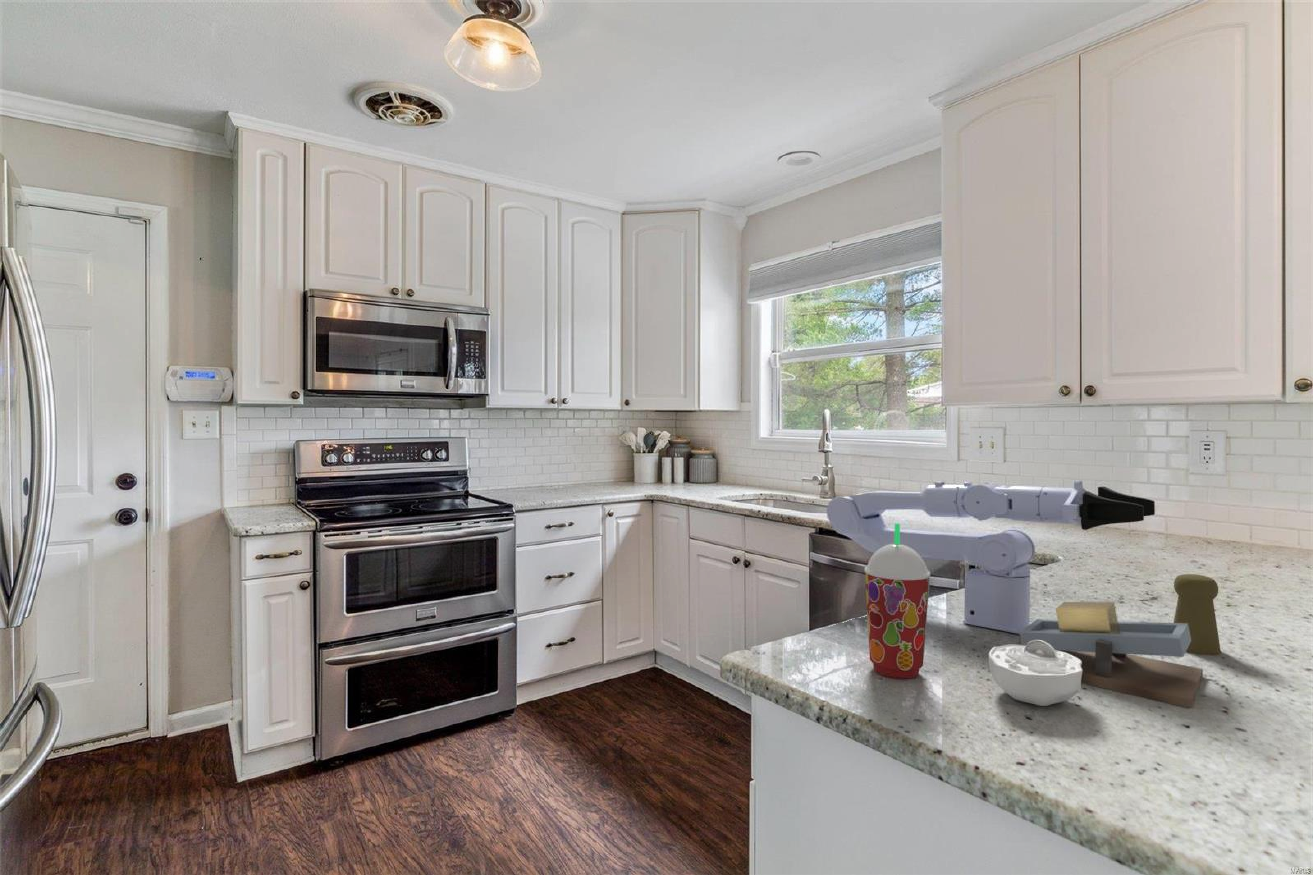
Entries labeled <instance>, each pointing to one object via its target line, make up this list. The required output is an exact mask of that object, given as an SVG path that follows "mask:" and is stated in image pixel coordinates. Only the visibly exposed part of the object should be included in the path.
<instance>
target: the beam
mask: <svg viewBox="0 0 1313 875" xmlns="http://www.w3.org/2000/svg"><path fill="white" fill-rule="evenodd" d="M1118 626H1119V631H1120V632H1119V633H1118V634H1107V633H1081V632H1060V630H1059V625H1058V619H1046V618H1045V619H1040V618H1039V619H1038V618H1037V619H1035V620H1034V622H1032V623H1031V624H1030V625H1028V626H1027V627H1026V628H1024V629H1023V630H1022V631H1020V632H1019V633H1020V634H1019V638H1020V645H1024V646H1026V645H1027V644H1028V643H1029V642H1030V641H1033V640H1042V641H1045V642H1047V643H1048V644H1050V645H1051V646H1052V647H1053V648H1054V650H1066V651H1084V652H1095V649H1096V640H1102V641H1107V642H1112V653H1120V654H1130V655H1138V656H1139V655H1141V656H1157V657H1159V656H1160V657H1175V658H1176V657H1177V658H1179V657H1180V658H1184V657H1185V654H1186V653H1187V652H1186V650H1187V648H1188V646H1189V644H1190V642H1191V636H1190V631H1189V626H1188V623H1174V622H1155V621H1154V622H1152V621H1151V622H1149V621H1148V622H1147V621H1118Z"/></svg>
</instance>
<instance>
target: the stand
mask: <svg viewBox="0 0 1313 875" xmlns="http://www.w3.org/2000/svg"><path fill="white" fill-rule="evenodd" d="M1057 651H1062V652H1065V653H1068V654H1070V655H1072V656H1075V657H1077V658H1078V659H1080V660H1081V661H1082V664H1081V668H1082V670H1083V671H1082V677H1081V684H1085V685H1090V686H1094V687H1098V688H1103V689H1107V690H1111V691H1116V692H1120V693H1124V694H1129V695H1132V696H1137V697H1142V698H1146V699H1150V700H1154V701H1159V702H1162V703H1166V704H1170V705H1171V704H1172V705H1176V706H1180V707H1185V708H1188V709H1192V707H1193V704H1194V700H1195V698H1196V695H1197V693H1198V690H1199V687H1200V686H1201V685H1200V684H1201V682H1202V680H1203V676H1204V674H1203V673H1204V669H1203V668H1200V667H1196V666H1190V665H1185V664H1181V663H1176V662H1175V663H1174V662H1169V661H1165V660H1159V659H1154V658H1149V657H1145V656H1144V657H1143V656H1139V655H1136V654H1120V653H1112V642H1107V641H1102V640H1096V649H1095V652H1084V651H1066V650H1057Z"/></svg>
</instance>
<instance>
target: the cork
mask: <svg viewBox="0 0 1313 875" xmlns="http://www.w3.org/2000/svg"><path fill="white" fill-rule="evenodd" d="M1173 588H1174V590H1175V591H1174V592H1175V593H1176V594H1177V595H1178V596H1177V602H1176V606H1175V613H1174V618H1173V623H1188V626H1189V631H1190V636H1191V642H1190V644H1189V646H1188V648H1187V650H1186V652H1185V653H1191V654H1197V655H1202V656H1203V655H1206V656H1218V655H1221V653H1222V652H1221V651H1222V649H1221V644H1220V638H1219V631H1218V625H1217V624H1218V623H1217V618H1216V611H1215V609H1216V608H1215V605H1214V599H1216V598H1217V596H1218V595H1219V586H1218V583H1217V581H1216V580H1215V579H1214V578H1212V577H1210V576H1206V575H1202V574H1198V573H1197V574H1196V573H1183V574H1179V575H1177V576H1176V577H1175V579H1174V582H1173Z"/></svg>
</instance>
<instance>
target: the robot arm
mask: <svg viewBox="0 0 1313 875" xmlns="http://www.w3.org/2000/svg"><path fill="white" fill-rule="evenodd" d="M933 483H934V484H929V485H927V486H926V488H925V489H923V490H922V491H901V490H900V491H899V490H898V491H894V490H892V491H891V490H875V491H869V492H862V493H857V494H850V495H848V496H836V497H833V498H832V499H830V500H829V503H827V504H828V505H827V507H826V517H827V519H828V521H829V522H830V524H831V526H832V528H833V529H834V530H835V532H836V533H837V534H840V535H843V536H845V537H847V538H849V539H850V540H852V541H853V542H854V543H856V544H858V545H859V546H860V547H862V548H863V549H864V550H866V551H868V552H870V553H875V552H876V551H877V550H878V549H879V548H881V547H883V546H886V545H889V544H894V543H895V528H889V527H888V526H887V525H886V523H885V521H884V519H883V516H882V514H884V512H886V511H889V510H890V511H891V510H892V511H893V510H896V511H897V510H922V511H923V512H925V513H926V514H927V515H928V516H929V517H932V518H934V517H935V518H936V517H937V518H964V519H965V518H969V517H973V518H974V519H976V520H978V521H986V520H987V521H988V520H989V519H991V518H996V519H1008V520H1009V519H1010V520H1012V521H1017V522H1018V521H1021V522H1033V523H1045V524H1046V523H1047V524H1059V525H1073V526H1075V527H1081V530H1084V531H1087V530H1090V529H1093V528H1096V527H1099V526H1107V525H1111V524H1112V525H1113V524H1124V523H1126V524H1127V523H1137V522H1142V521H1144V520H1145V517H1149V516H1155V515H1156V510H1155V508H1156V505H1155V502H1156V501H1155V500H1152V499H1148V498H1144V497H1139V496H1134V495H1130V494H1125V493H1121V492H1117V491H1116V490H1113V489H1111V488H1109V487H1106V486H1098V487H1097V494H1096V493H1093V492H1090V491H1087V490H1086V489H1085V488H1084V486H1083V485H1084V484H1083V481H1082V480H1075V481H1073V487H1060V486H1058V487H1055V486H1035V485H1034V486H1033V485H1032V486H1031V485H1013V486H1009V485H1001V486H1000V485H998V484H995V483H989V482H984V483H982V484H976V485H973V482H972V481H965V482H963V484H946V483H945V481H942V480H941V481H934V482H933ZM900 544H903V545H906V546H908V547H910V548H912V549H913V550H915V551H916V552H917V553H918V554H919V555H920V556H921V557H922V558H929V559H934V560H935V559H937V560H947V561H955V562H956V561H957V562H965V563H967V565H969V566H975V567H980V568H970V569H969V570H968V572H967V574H966V577H965V581H964V611H963V612H964V615H963V616H964V619H963V620H962V623H963V624H966V625H972V626H977V627H982V628H987V629H991V630H998V631H1002V632H1006V633H1013V634H1017V635H1020V633H1019V632H1020V631H1022V630H1023V629H1024V628H1026V627H1027V626H1028V625H1030V624H1031V623H1032V622H1034V621H1035V620H1034V621H1033V620H1031V570H1030V568H1029V566H1028V564H1029V563H1030V562H1031V561H1032V560H1033V558H1034V556H1035V553H1036V547H1035V544H1034V542H1033V540H1032V538H1031V537H1030V535H1028V534H1027V533H1026V532H1023V531H1022V530H1020V529H1007V530H1004V531H1002V532H999V533H989V532H988V533H963V532H962V533H960V532H949V531H948V532H945V531H933V530H920V529H919V530H915V529H906V528H905V529H904V528H900Z"/></svg>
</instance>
